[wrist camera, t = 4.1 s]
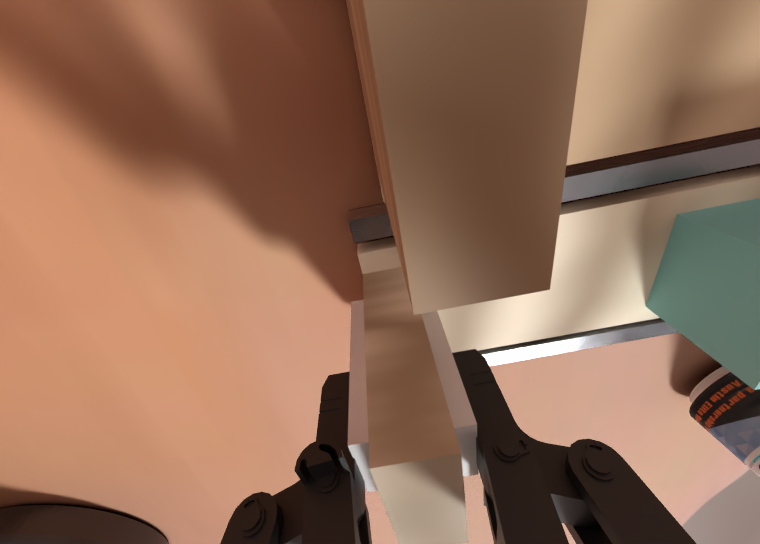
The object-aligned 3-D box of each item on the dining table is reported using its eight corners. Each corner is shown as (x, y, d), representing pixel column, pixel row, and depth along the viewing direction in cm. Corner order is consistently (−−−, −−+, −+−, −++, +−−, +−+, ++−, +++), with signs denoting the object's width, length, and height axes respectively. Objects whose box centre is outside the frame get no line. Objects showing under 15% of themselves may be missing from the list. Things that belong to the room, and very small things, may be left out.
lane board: (387, 367, 19) (393, 412, 16) (274, -93, 9) (240, -167, 6) (801, 292, 18) (877, 327, 15) (1203, -315, 8) (1618, -510, 5)
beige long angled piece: (384, 353, 18) (406, 564, 10) (357, 244, 14) (359, 443, 6) (747, 287, 17) (1079, 459, 9) (820, 153, 13) (1474, 251, 5)
